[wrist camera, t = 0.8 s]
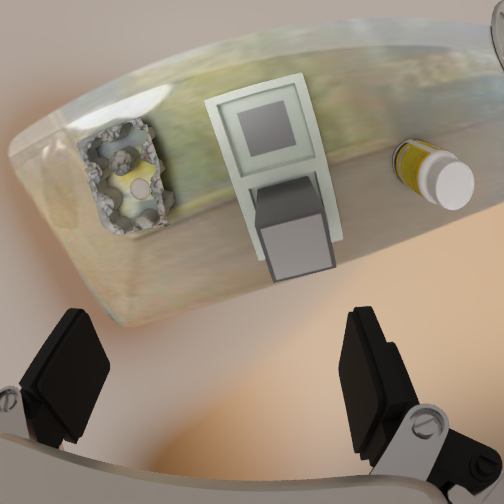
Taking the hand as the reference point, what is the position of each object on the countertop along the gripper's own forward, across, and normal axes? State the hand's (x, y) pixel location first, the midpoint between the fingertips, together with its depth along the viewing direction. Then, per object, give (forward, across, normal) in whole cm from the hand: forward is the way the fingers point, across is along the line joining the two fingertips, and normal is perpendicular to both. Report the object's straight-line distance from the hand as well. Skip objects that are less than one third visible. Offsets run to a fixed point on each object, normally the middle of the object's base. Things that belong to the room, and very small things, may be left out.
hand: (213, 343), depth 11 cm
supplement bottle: (+21, -17, -2) cm, 27 cm away
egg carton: (+22, +11, -1) cm, 24 cm away
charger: (+19, -4, +2) cm, 20 cm away
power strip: (+21, -3, -2) cm, 21 cm away
